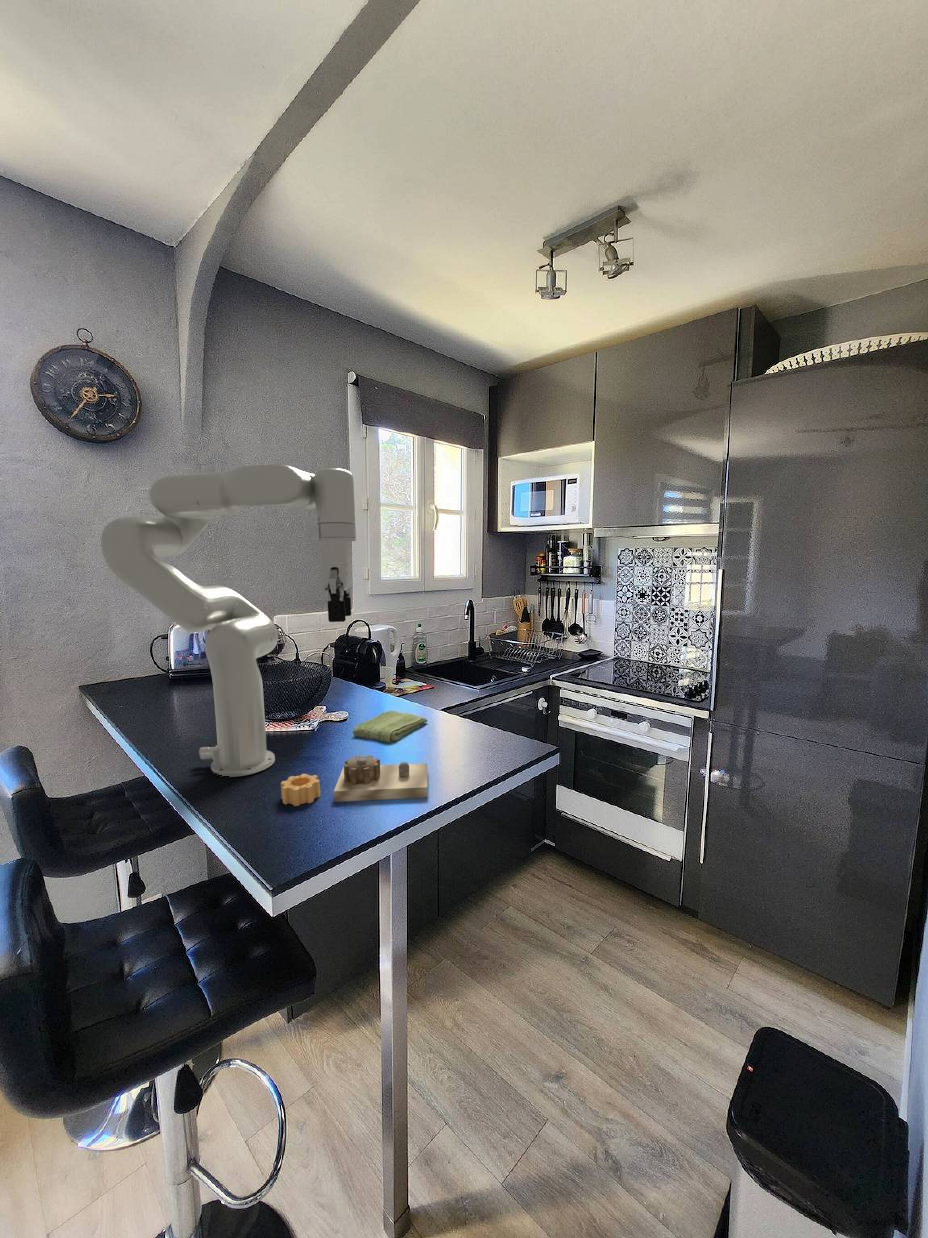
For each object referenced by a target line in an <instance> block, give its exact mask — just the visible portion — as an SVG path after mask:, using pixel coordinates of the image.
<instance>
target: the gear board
mask: <svg viewBox="0 0 928 1238" xmlns="http://www.w3.org/2000/svg"><path fill="white" fill-rule="evenodd" d="M428 771H429V770H428V763H427V762H425V763H419V762H418V763H408V762H406V761H402V762H400V763H399V764H398V763H397V764H381V759H380V758H379V757H378V758H375V757H374V756H373V755H367V756H361V755H357V756H354V757H353V758H351V759H347V760H345V761H344V764H343V767H342V769H341V773H340V775H339V777H338V780H337V782H336V785H335V786H334V789H333V802H335V803H338V802H339V803H341V802H358V801H359V802H361V801H381V800H384V801H385V800H402V799H403V800H406V799H407V800H408V799H422V798H423V799H425V797H428V786H429V785H428V783H429V780H428V775H429V774H428V773H429V772H428ZM428 798H429V797H428Z"/></svg>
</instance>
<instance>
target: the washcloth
mask: <svg viewBox="0 0 928 1238" xmlns="http://www.w3.org/2000/svg"><path fill="white" fill-rule="evenodd" d="M428 721H429V720H428V719H427V717H423V716H420V715H415V714H413V713H409V712H399V711H397V710H389V711H386V712H381V713H380V714H379V715H376V716H374V717H372V718H371V719H368V720H365V721H363V722H362V723H360V724H357V725H356V726H355V728H353V731H352V734H353V736H355V737H357V738H363V739H368V740H370V739H372V740H375V741H379V742H383V743H387V744H390V743H394V742H396V741H399V740H400V739H403V738H404V737H405V736H407V735H409V734H411V732H413V731H414V730H417V729H418V728H419V727H421V726H423V725H425V724H426V723H427V722H428Z"/></svg>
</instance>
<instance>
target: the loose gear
mask: <svg viewBox="0 0 928 1238" xmlns="http://www.w3.org/2000/svg"><path fill="white" fill-rule="evenodd" d="M280 793H281V794H280V796H281V800H282V803H283V804H284V805H285V806H286V805H288V804H290V805H293V807H299V806H300V805H303V804H306V803H307V804H311V803H314V800H315V799H316V798H320V797H321V785H320V779H319V776H318V775H316V774H314V775H310V774H308V773H301V774H299V775H296V776H295V775H291V776H288V777H287V779H286V780H282V781H281V782H280Z"/></svg>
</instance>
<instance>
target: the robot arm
mask: <svg viewBox="0 0 928 1238" xmlns="http://www.w3.org/2000/svg"><path fill="white" fill-rule="evenodd" d="M148 493H149V499H150V502H151V504H152V505H153V507H154V508H155V510H156V511H158V512H159V513H160V514H162V515H164V516H163V517H162V518H154V517H145V516H136V515H135V516H132V515H131V516H130V515H129V516H122V517H119V518H115V519H112V521H110V522H108V523H107V524H106V526H104V527H103V530H102V532H101V538H100V545H101V546H100V547H101V552H102V555H103V558H104V560H105V563H106V564H107V566H108V567H109V569H110V570H111V572H112V573H113V574H114V575H115V576H116V577H117V578H118V579H119V580H120V581H122V582H123V583H124V584H126V585H127V586H128V587H129V588H131V589H132V590H134V591H135V593H136V592H137V594H139V595H140V596H142V597H143V598H144V599H146V600H147V601H148V602H149V603H150V604H151V605H153V606H154V607H155V608H157V610H159V611H160V612H161V613H163V614H164V615H165V616H166V617H168V618H169V619H170V620H171V621H173V622H174V623H175V624H176V625H178V626H179V627H180V628H182V629H183V630H185V631H187V632H191V633H198V632H206V631H209V632H208V634H207V635H206V637H205V642H204V643H205V644H204V645H205V646H204V647H205V648H204V649H205V654H206V658H207V661H208V665H209V669H210V675H211V679H212V689H213V692H212V693H213V700H214V714H215V728H216V740H217V741H216V743H217V744H216V745H215V746H211V747H210V746H201V747H200V748H199V750H198V756H200V757H199V758H200V760H212V762H211V765H210V771H211V770H212V771H213V772H214V773H217V774H219V775H222V776H221V777H223V776H229V777H228V778H235V777H244V776H249V775H254V774H256V773H259V772H261V771H262V772H263V771H265V770H266V769H268V768H270V767H272V765H274V763H275V761H276V755H275V753H273V751H271V750H268V749H267V735H266V732H267V731H266V720H265V719H266V717H265V716H266V715H265V701H264V688H263V687H264V685H263V679H262V674H261V671H260V668H259V666H258V663H257V659H259V658H262V657H263V656H265V655H267V654H269V653H271V652H272V651H273V650H274V649H275V647H277V643H278V640H279V633H278V632H279V631H278V629H277V626H276V625H275V623H274V622H273V620H272V619H270V618H269V616H268V615H266V614H264V613H263V612H262V611H261V610H260V609H259V608H258V607H256V606H255V605H253V604H252V603H251V602H250V601H248V600H247V599H245V597H243V596H242V595H241V594H239V593H238V592H237V591H235V590H234V589H231V588H229V587H227V586H224V585H217V584H215V585H214V584H213V585H201V584H198V583H196V582H194V581H193V580H191V579H190V578H188V577H187V576H186V575H185V574H183V572H181V571H180V570H179V569H177V568H176V567H174V566H173V565H171V564H169V563H167V562H165V561H163V560H161V559H169V558H175V557H178V556H180V555H181V554H183V553H184V552H185V551H186V550H188V548H189V547H190V546H191V545H192V544H193V542H194V541H195V540H196V539H197V538H198V537H199V536H200V534H202V532H203V531H204V530H205V528H207V526H208V525H209V524H210V522H212V520H213V519H214V517H222V516H234V515H237V514H238V513H239V512H240V511H241V510H242V509H244V508H254V507H266V506H267V507H269V506H281V507H282V506H283V507H287V508H291V509H295V510H299V511H308V510H315V516H316V517H315V520H316V521H315V522H316V537H317V538H316V539H317V542H321V548H320V566H321V567H320V568H321V569H320V571H321V574H320V575H321V576H320V577H321V578H320V579H321V582H320V583H321V589H322V591H325V592H326V591H328V592H327V615H328V617H327V618H328V620H327V621H328V622H329V623H339V622H340V623H344V622H345V621H346V620H347V618H346V617H350V616H352V601H351V598H352V597H351V595H350V589H351V587H352V552H351V551H352V548H351V542H357V539H356V538H357V535H356V528H357V527H356V512H355V510H356V508H355V507H356V505H355V485H354V477H353V474H352V473H351V471H349V470H347V469H343V468H334V467H333V468H331V467H330V468H322V469H319V470H317V471H316V472H315V473H310V472H307V471H303V470H300V469H298V468H296V467H293V466H290V465H287V464H275V463H274V464H260V465H259V464H257V465H245V466H239V467H234V468H232V469H229V470H226V471H217V472H216V471H215V472H208V473H207V472H205V473H187V474H174V475H165V476H163V477H160V478H158V479H156V480H155V481H154V482H153V483H152V485H151V486H150V489H149V492H148ZM212 771H211V772H212ZM214 773H213V774H214Z"/></svg>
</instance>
